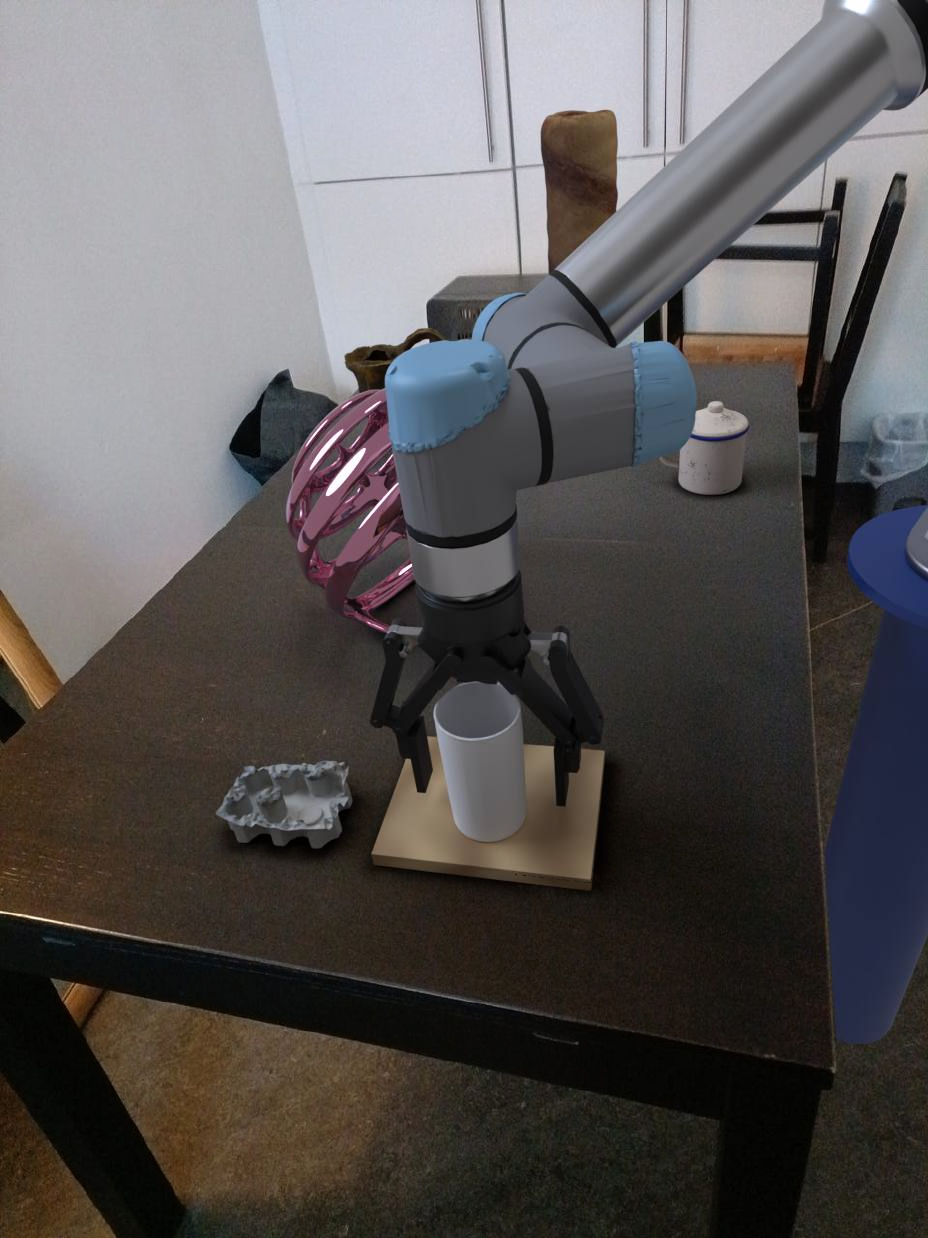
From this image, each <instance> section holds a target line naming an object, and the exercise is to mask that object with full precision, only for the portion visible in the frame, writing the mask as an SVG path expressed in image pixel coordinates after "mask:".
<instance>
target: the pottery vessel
mask: <svg viewBox="0 0 928 1238" xmlns="http://www.w3.org/2000/svg"><path fill="white" fill-rule="evenodd" d="M464 339H470V340H472V337H465V338H462V339H455V340H454V341H459V340H464ZM425 340H430V341H432V342H437V341H444V340H447V341H449V339H448V338H447V336H445V335H443V334H441V332H439V331H438V330H436V329H434V328H433V327H423V328H422V327H421V328H417V329H415V331H413V332H412V333H410V334H409V335H407V336H406V338H405V340H404V341H403V342H401V343H399V344H397V345H393V344H385V343H382V344H380V343H378V344H373V345H362V346H358V347H356V348H355V349H353V350H352V351H351V352H346V353H345V354H344V355H343V357H344V364H345V368H346V369H347V370H348V371H349V372H351V373H352V374H353V376H354V377H355V379H356V383H357V387H358V394H360V393H362V392H365V391H369V390H382V389H384V388H385V376H386V373H387V370H388V368H389V366H390V365H391V363H392V362H393V361H394V360H395V359H396V358H397V357H398V356H400V355H401V354H402V353H404V352H406V351H408V350H410V349H412V348H414V347H415V345H417V344H419V343H421V342H423V341H425ZM369 416H370V415H369ZM369 416H368V417H367V418H366V419H367V420H368V419H369ZM388 422H389V420H388Z"/></svg>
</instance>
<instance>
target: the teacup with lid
mask: <svg viewBox="0 0 928 1238" xmlns="http://www.w3.org/2000/svg"><path fill="white" fill-rule="evenodd" d="M695 417H696V420H695V425H694V428H693V431H692V434H691V436H690V438H689V440H688V441H687V443H686V444H685V445H684V446H683V447H682V448H681V449H680V450H679V461H678V460H677V461H676V460H670V459H669V458H667V457H666V456H662V457H659V458H658V459H659V460H660V462H661V463H662V464H663V465H664V466H666V467H668V468H673V469H678V477H677V479H678V480H677V481H678V483H679V485H680V486H681V487H682V488H683V489H685V490H686V491H688V492H690V493H694V494H697V495H703V496H719V495H724V494H728V493H731V492H733V491H735V490H736V489H738V488H739V487H740V485H741V484H742V482H743V480H742V479H743V472H744V471H743V470H744V463H745V462H744V461H745V453H746V452H745V451H746V442H747V433H748V431H749V430H750V423H749V420H748V418H747V417H746V416H745V415H744V414H742V413H740V412H738V411H735V410H731V409H728V408H726V407H724V403H723V402H722V401H719V400H714V401H710V402H709V403H708V404H707V407H704V408H702V409H698V410H697V409H696V414H695Z"/></svg>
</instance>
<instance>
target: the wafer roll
mask: <svg viewBox="0 0 928 1238" xmlns="http://www.w3.org/2000/svg"><path fill="white" fill-rule="evenodd" d="M540 127H541V128H540V153H541V154H540V155H541V160H542V165H543V170H544V171H543V172H544V184H545V190H546V195H545V196H546V233H547V240H548V242H547V263H548V266H547V267H548V268H547V269H548V275H549V274H550V273H551V272H553V271H554V270H555V269H556V268H557V267H558V266H559V265H560V264H561V263H562V262H563V261H564V260H565V259H566V258H567V257H568V256H569V255H571V254H572V253H573V252H574V251H575V250H576V249H577V248H578V247H579V246H580V245H581V244H582V243H583V242H584V241H586V240H587V239H588V238H589V237H590V236H591V235H592V234H593V233H594V232H595V231H596V230H597V229H598V228H599V227H600V226H602V225H603V224H604V223H605V222H606V221H607V220H608V219H609V218H610V217H611V216H612V215H613V214H614V213H615V212H616V211H617V206H618V200H619V191H618V184H617V182H618V159H617V158H618V148H619V147H618V146H619V137H618V122H617V117H616V115H615V112H614V111H612V110H611V109H600V110H596V111H586V110H577V109H576V110H575V109H573V110H572V109H571V110H569V109H568V110H562V111H557V112H554V113H553V114H549V115H547V116H546V117H545V118H544V119H543V122H542V124H541V126H540ZM615 348H617V347H615Z"/></svg>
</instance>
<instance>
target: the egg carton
mask: <svg viewBox="0 0 928 1238" xmlns="http://www.w3.org/2000/svg"><path fill="white" fill-rule="evenodd" d="M349 768H350V765H349V764H348V763H347V762H345V761H342V762H340V761H338V760H321V761H316V764H310V763H306V762H302V763H301V764H289V763H279V764H272V765H269V766H262V767H260V768H257V767H256V766H255V765H247V766H243V768H242V773H241V775H240V777H239V776H237V777H236V778H235V781H234V784H233V785H232V786H231V788H229V791H228V793H227V794H226V795H225V796H224V797H223V802H222V805H221V806H220V807H219V808H218V809H217V810H216V812H215V815H217V816H218V817H220V818H222V819H223V820H226V821H227V823H228V825H229V829H230V830H231V831H233V833H234V834H235V838H236V840H237V842H238V843H240V844H241V843H242V844H249V843H250V842H251V841H252V840H253V839H254V838H256V837H258V835H262V834H266V835H270V836H271V840H272V843H273V845H274V846H278V847H279V846H280V847H285V846H286V845H288V843H289V842H290V841H291V840H294V839H296V838H298V837H305V838H307V839H308V842H309V845H310V847H311V848H312V849H322V848H323V847H324V846H325V845H326V844H327V843H329V842H330V841H332V840H335V839H337V838H339V837H340V835H341V833H342V832H343V828H342V824H341V820H340V817H339V813H340V812H341V811H343V810H348V809H350V808H351V806H352V804H353V797H352V793H351V790H350V789H351V788H350V787H349V784H348V782H346V779H347V776H348V775H349Z"/></svg>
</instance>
